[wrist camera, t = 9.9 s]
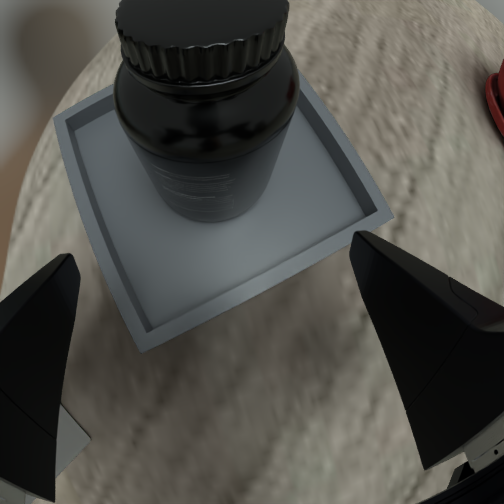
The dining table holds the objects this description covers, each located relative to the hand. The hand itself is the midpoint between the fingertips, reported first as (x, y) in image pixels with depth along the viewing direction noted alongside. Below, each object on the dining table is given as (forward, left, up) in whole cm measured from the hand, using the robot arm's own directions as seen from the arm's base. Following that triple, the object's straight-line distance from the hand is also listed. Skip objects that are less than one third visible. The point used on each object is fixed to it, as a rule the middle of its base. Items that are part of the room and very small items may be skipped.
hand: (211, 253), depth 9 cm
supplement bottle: (+2, +6, -8) cm, 10 cm away
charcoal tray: (+2, +6, -8) cm, 10 cm away
